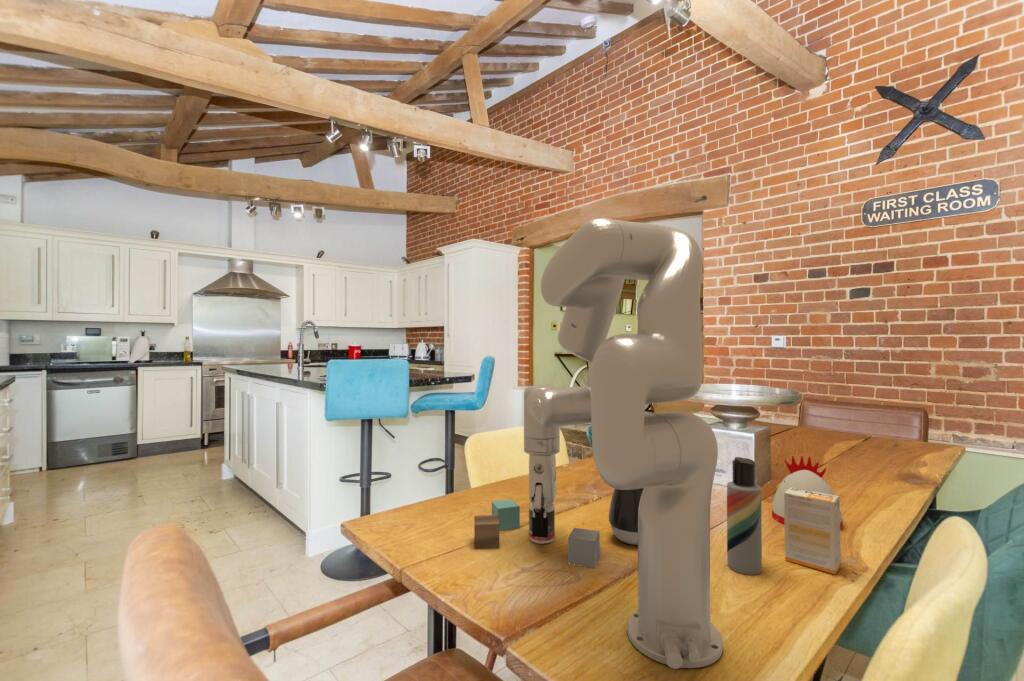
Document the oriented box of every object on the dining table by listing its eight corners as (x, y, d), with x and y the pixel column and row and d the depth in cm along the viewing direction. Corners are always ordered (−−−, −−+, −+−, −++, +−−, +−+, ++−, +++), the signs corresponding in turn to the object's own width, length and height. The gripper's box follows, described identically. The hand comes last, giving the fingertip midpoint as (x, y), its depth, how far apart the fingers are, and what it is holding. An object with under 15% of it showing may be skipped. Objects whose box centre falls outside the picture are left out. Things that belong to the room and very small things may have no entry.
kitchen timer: (773, 506, 119) (772, 447, 119) (839, 516, 112) (839, 453, 112) (770, 525, 107) (770, 458, 107) (845, 537, 100) (844, 467, 100)
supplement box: (841, 566, 87) (841, 495, 87) (835, 575, 84) (835, 501, 84) (791, 552, 93) (791, 485, 93) (783, 560, 90) (783, 491, 90)
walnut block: (499, 548, 95) (499, 523, 95) (474, 549, 95) (474, 524, 95) (498, 538, 100) (498, 514, 100) (474, 539, 100) (474, 515, 100)
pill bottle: (534, 546, 96) (533, 498, 96) (525, 535, 101) (525, 490, 101) (558, 542, 98) (558, 495, 98) (549, 532, 103) (548, 487, 103)
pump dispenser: (624, 553, 93) (624, 476, 93) (600, 533, 103) (600, 463, 103) (669, 547, 95) (669, 472, 95) (642, 528, 105) (642, 459, 105)
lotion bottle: (731, 557, 91) (731, 453, 91) (764, 566, 87) (764, 458, 87) (723, 568, 86) (722, 459, 86) (757, 578, 83) (757, 464, 83)
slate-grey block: (594, 568, 87) (594, 541, 87) (568, 564, 88) (568, 537, 88) (599, 557, 91) (599, 531, 91) (574, 553, 93) (574, 527, 93)
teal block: (519, 528, 105) (519, 506, 105) (498, 531, 104) (498, 508, 104) (512, 520, 110) (512, 499, 110) (491, 523, 108) (491, 501, 109)
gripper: (555, 454, 90) (556, 549, 90) (562, 436, 107) (562, 516, 107) (517, 453, 92) (517, 546, 92) (529, 435, 109) (530, 514, 109)
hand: (541, 529), depth 99 cm, fingers closed on pill bottle, 5 cm apart
